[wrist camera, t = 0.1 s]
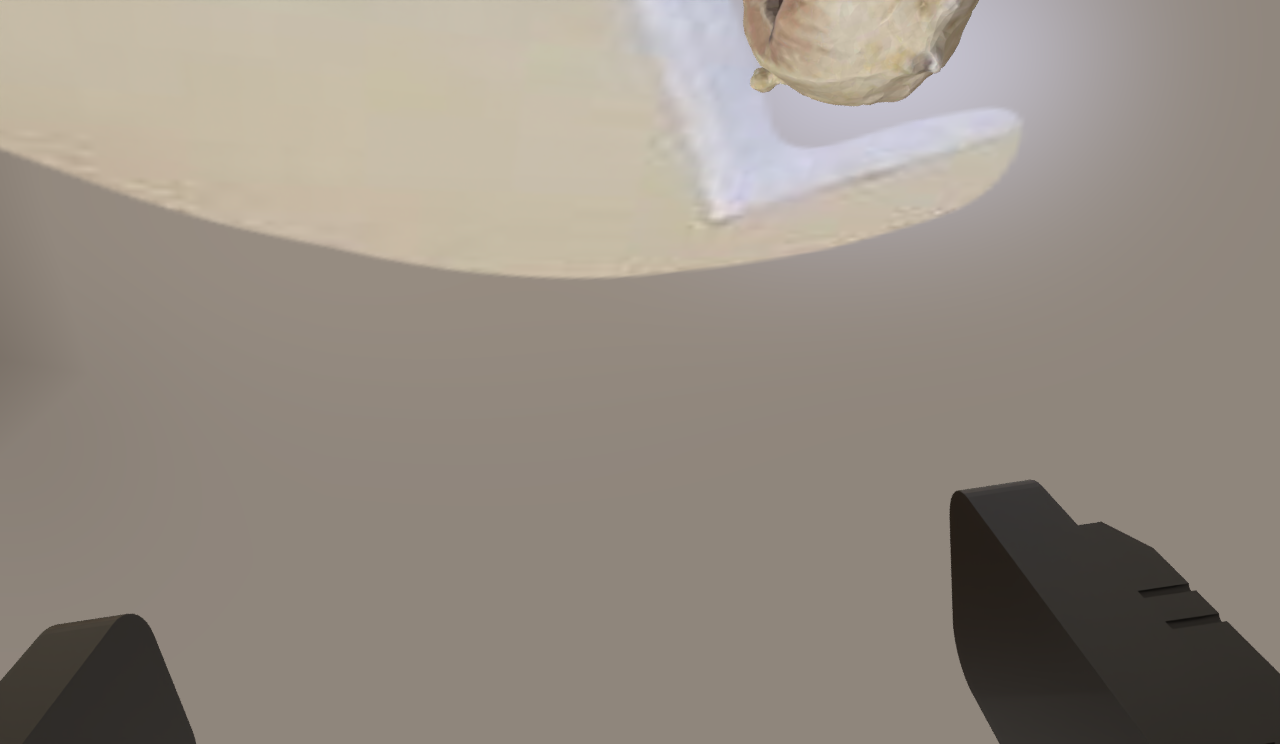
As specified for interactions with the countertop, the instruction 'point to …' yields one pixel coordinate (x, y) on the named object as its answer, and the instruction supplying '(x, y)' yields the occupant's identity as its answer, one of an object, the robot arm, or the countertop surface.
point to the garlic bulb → (852, 45)
